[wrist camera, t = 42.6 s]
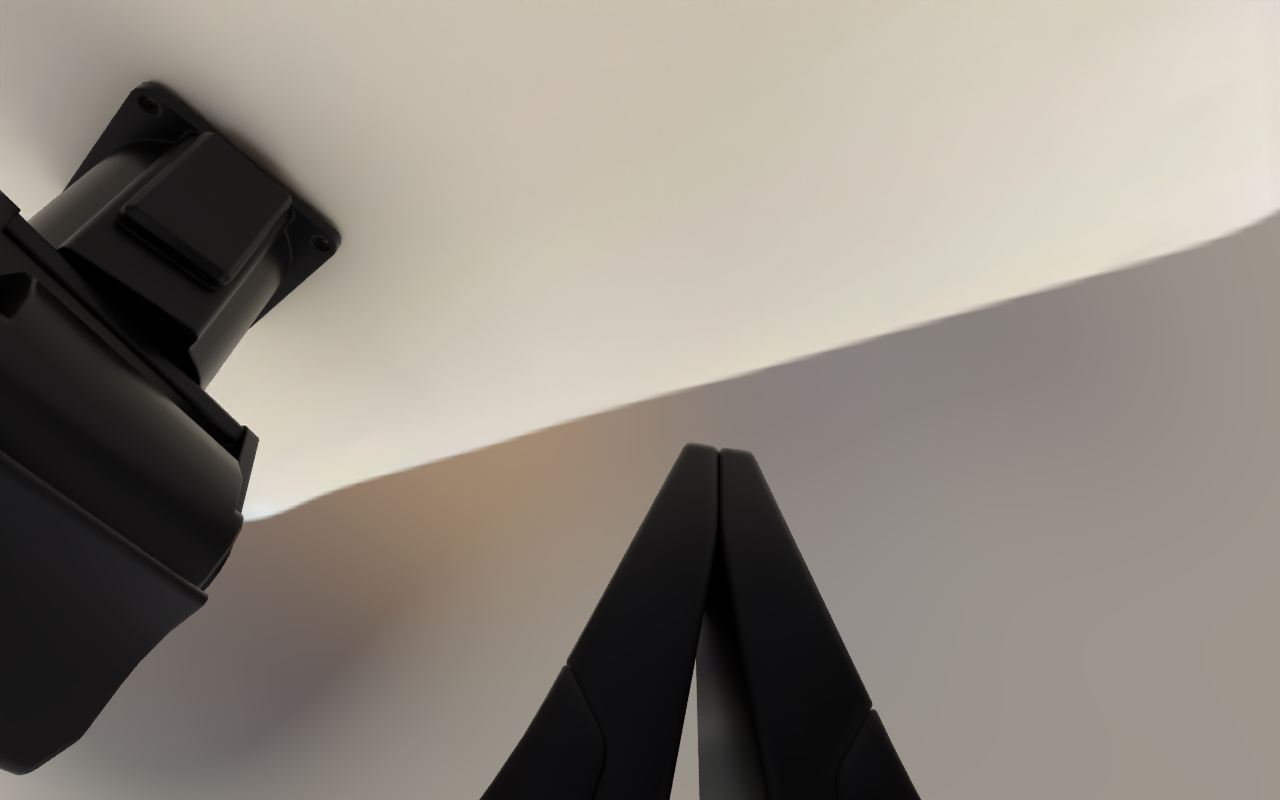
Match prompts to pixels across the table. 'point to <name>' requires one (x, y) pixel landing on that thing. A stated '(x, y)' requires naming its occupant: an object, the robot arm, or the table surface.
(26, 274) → the robot arm
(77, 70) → the table surface
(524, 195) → the table surface
